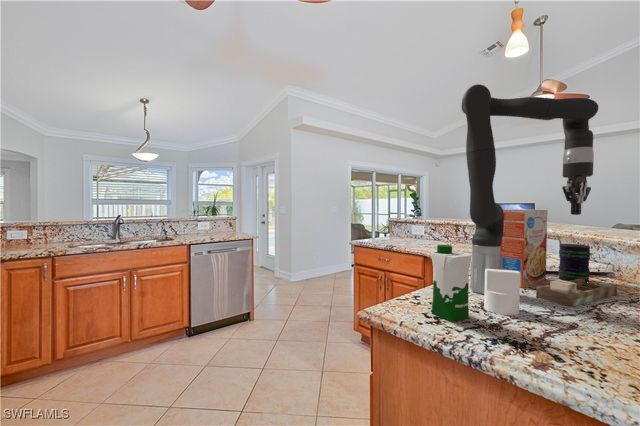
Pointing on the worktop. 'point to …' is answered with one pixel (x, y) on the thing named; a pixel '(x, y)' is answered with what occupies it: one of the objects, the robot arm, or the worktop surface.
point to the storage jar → (574, 262)
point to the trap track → (577, 293)
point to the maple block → (563, 286)
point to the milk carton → (450, 284)
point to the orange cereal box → (525, 245)
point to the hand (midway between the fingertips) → (575, 214)
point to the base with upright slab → (502, 291)
